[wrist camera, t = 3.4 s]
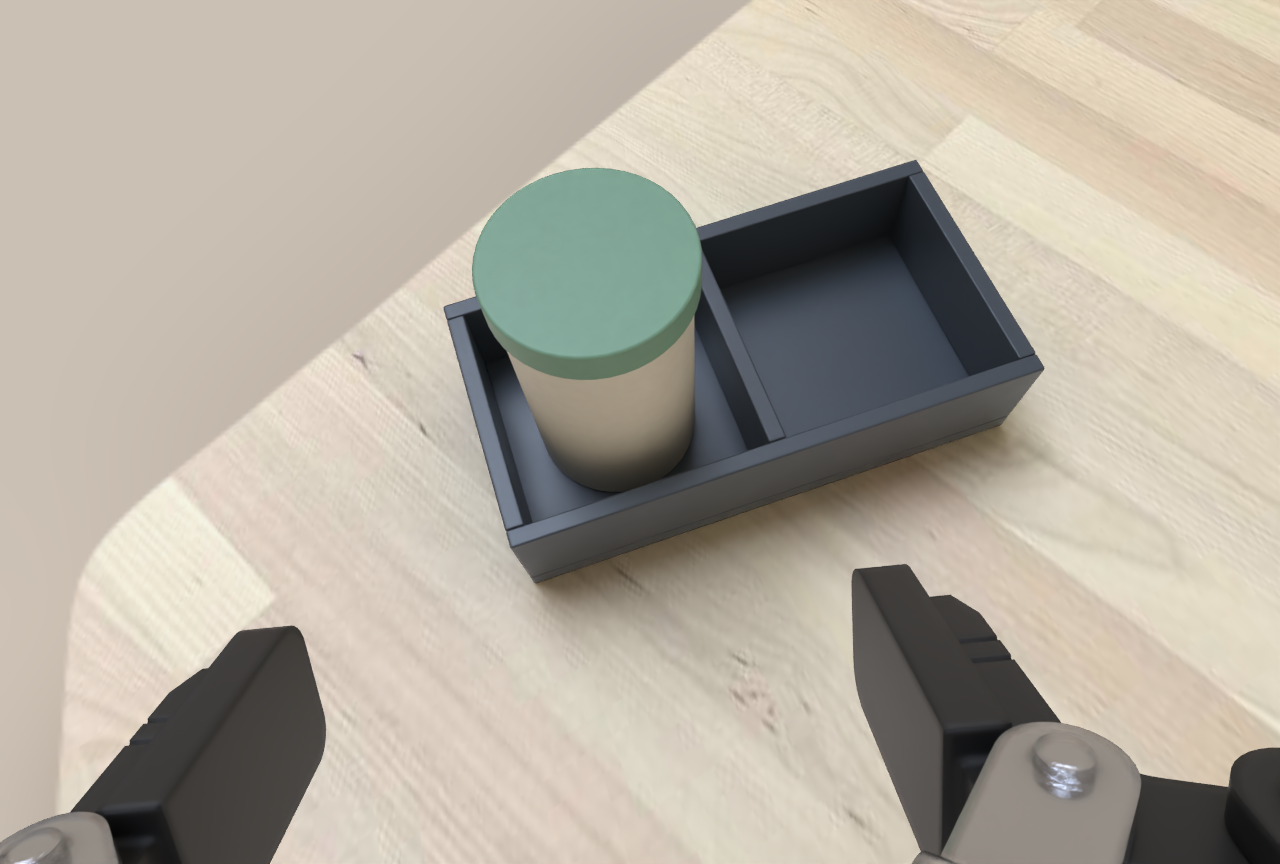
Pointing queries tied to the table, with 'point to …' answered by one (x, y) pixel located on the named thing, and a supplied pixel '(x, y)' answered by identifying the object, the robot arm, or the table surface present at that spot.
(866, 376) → the divided tray
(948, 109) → the table surface
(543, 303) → the container
